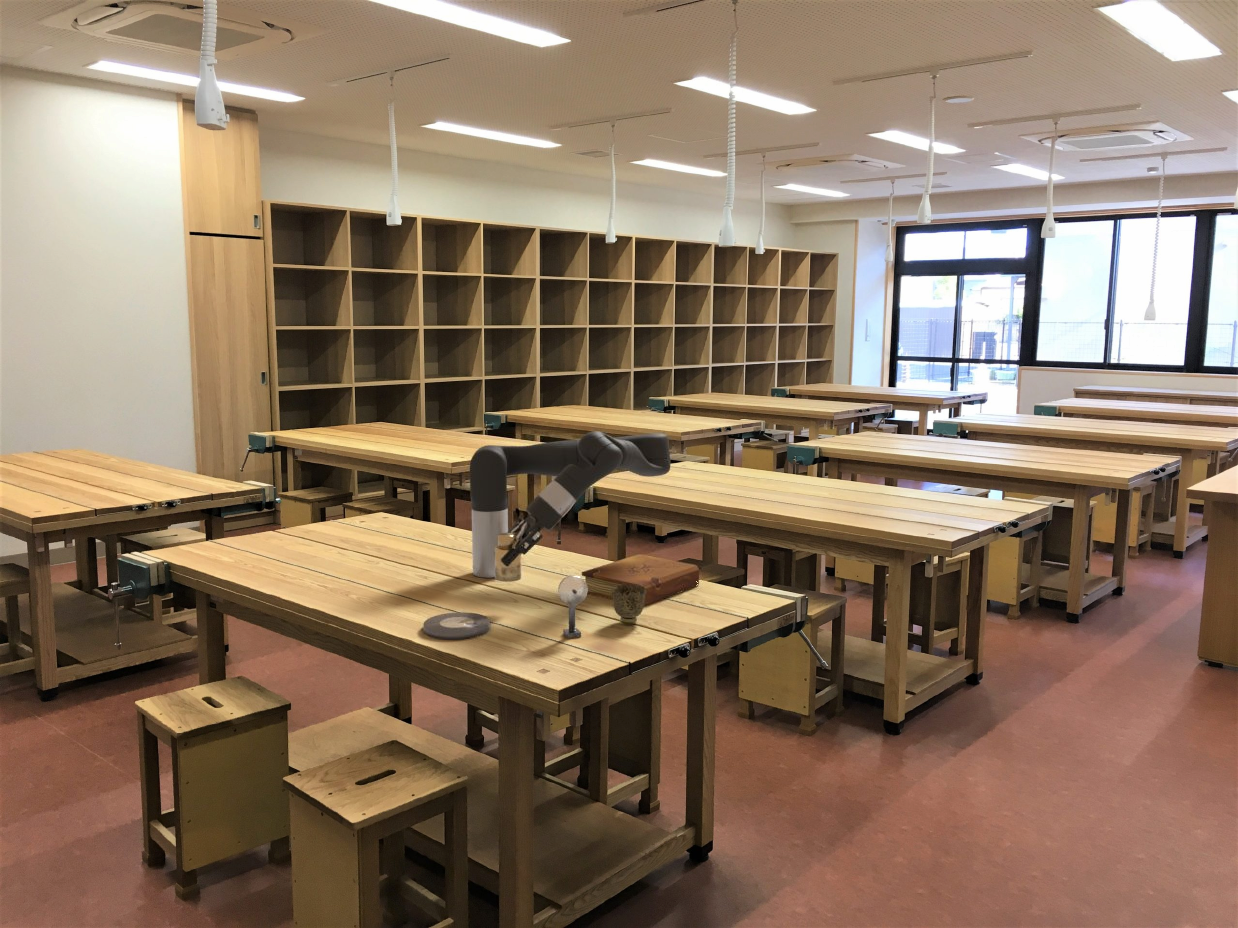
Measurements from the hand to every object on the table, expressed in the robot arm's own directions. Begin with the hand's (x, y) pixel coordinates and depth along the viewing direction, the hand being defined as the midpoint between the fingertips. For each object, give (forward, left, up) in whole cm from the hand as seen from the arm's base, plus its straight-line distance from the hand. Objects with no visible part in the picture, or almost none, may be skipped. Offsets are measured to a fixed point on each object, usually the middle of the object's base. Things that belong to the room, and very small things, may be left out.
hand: (500, 560), depth 213 cm
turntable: (+12, +9, -12) cm, 19 cm away
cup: (-24, +17, -12) cm, 32 cm away
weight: (-2, 0, -4) cm, 5 cm away
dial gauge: (-10, +21, -12) cm, 26 cm away
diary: (-36, -7, -13) cm, 39 cm away
